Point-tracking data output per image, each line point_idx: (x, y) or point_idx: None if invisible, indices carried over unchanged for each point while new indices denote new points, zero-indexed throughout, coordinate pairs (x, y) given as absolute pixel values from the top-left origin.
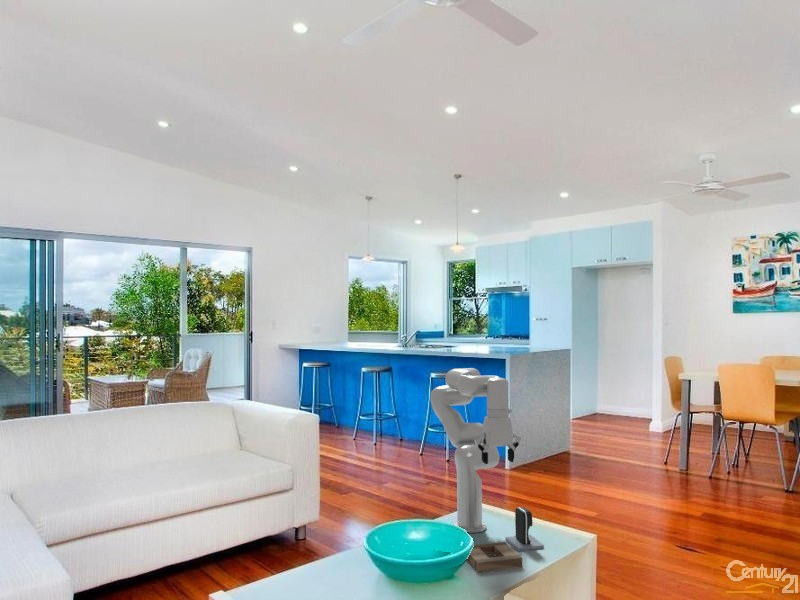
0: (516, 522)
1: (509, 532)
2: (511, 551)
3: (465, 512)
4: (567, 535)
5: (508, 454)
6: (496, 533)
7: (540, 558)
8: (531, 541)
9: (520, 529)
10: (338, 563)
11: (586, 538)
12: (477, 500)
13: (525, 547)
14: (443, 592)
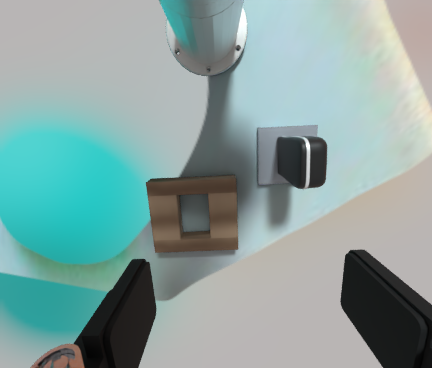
0: (287, 145)
1: (285, 87)
2: (230, 223)
3: (182, 42)
4: (396, 131)
5: (377, 298)
6: (254, 86)
7: (282, 218)
8: None
9: (284, 163)
10: None
11: (422, 154)
12: (217, 33)
13: (274, 183)
14: (96, 287)
